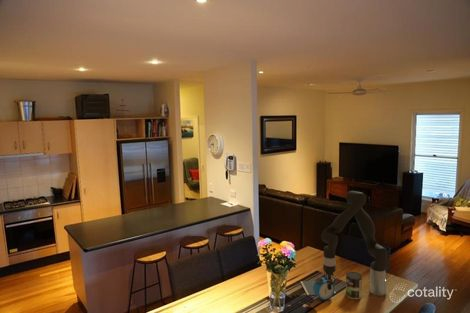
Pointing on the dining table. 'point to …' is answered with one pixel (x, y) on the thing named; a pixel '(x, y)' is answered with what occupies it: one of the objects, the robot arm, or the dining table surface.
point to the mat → (309, 287)
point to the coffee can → (354, 285)
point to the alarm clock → (323, 289)
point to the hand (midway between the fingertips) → (329, 289)
